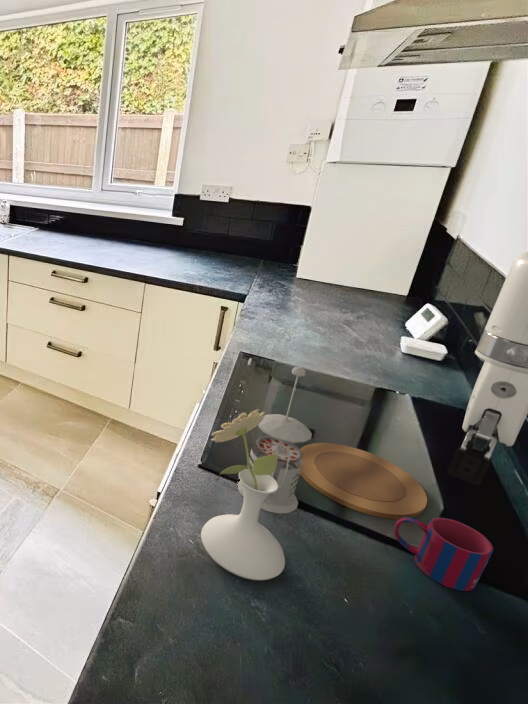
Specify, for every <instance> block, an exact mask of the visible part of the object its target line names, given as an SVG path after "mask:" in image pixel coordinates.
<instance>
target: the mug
mask: <svg viewBox="0 0 528 704" xmlns="http://www.w3.org/2000/svg"><path fill="white" fill-rule="evenodd" d="M404 523H410V524H414V525H415V526H418V527H419V528H420V529H421V530H422V531H423V536H422V538H421V540H420V542H419V545H418V547H415V546H413V545H411V544H409V543H408V542H407V541H405V540H404V539H403V538H402V536H401V535H400V533H399V529H400V526H401V525H402V524H404ZM393 533H394V537H395V538H396V540H397V541H398V543H399V544H400V545H401V546H402V547H404V548H405V549H406V550H408V551H409V552H411V553H412V554H414V562H415V564H416V565H417V567H418V568H419V569H420V571H422V572H423V573H424V574H425V575H426V576H427V577H428V578H430V579H431V580H433V581H435V582H436V583H438V584H440V585H441V586H444V587H446V588H448V589H452V590H454V591H459V592H470V591H473V590H475V588H476V586H477V584H478V582H479V580H480V578H481V576H482V575H483V572H484V571H485V568H486V567H487V564H488V562H489V561H490V558H491V557H492V554H493V552H494V546H493V543H491V541H490V540H489V539H488V538H487V537H486V536H485V535H484V534H482V533H481V532H479V531H478V530H476V529H475V528H473V527H471V526H469V525H467V524H465V523H463V522H460V521H457V520H454V519H451V518H446V517H433V518H432V519H430V521H429V522H428V524H425V523H424V522H422V521H420V520H418V519H416V518H415V517H413V518H410V517H403V518H400V519H397V521H396V522H395V524H394V528H393Z"/></svg>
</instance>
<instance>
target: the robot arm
mask: <svg viewBox="0 0 528 704" xmlns="http://www.w3.org/2000/svg"><path fill="white" fill-rule="evenodd" d="M474 354H475V355H476V356H477V357H478V358H480V359H482V360H484V362H483V364H482V366H481V369H480V371H479V374H478V377H477V378H476V381H475V384H474V386H473V390H472V392H471V394H470V397H469V401H468V404H467V406H466V410H465V415H464V419H463V421H462V422H463V423H462V426H461V427H462V430H463V431H464V432H463V434H462V436H461V439H460V441H459V443H458V447H457V448H456V450H455V453H454V455H453V457H452V460H451V462H450V465H449V466H448V469H447V474H448V475H450V476H452V477H455V478H457V479H459V480H462V481H465V482H467V483H469V484H472V485H475V486H479V485H481V483H482V481H483V479H484V477H485V475H486V473H487V471H488V469H489V467H490V465H491V463H492V461H493V459H492V458H491V457H492V454H493V452H494V450H495V447H496V445H497V444H498V441H499V443H501V444H504V446H505V447H512V446H514V444H515V442H516V440H517V437H518V435H519V434H520V431H521V429H522V426H523V425H524V422H525V420H526V418H527V416H528V251H526V252H523V253H520V254H519V255H518V256H517V257H516V258H515V259H514V260H513V261H512V264H511V265H510V267H509V270H508V273H507V275H506V277H505V280H504V282H503V284H502V287H501V289H500V291H499V294H498V296H497V299H496V301H495V304H494V306H493V308H492V311H491V313H490V315H489V318H488V320H487V322H486V324H485V327H484V330H483V332H482V334H481V336H480V338H479V341H478V343H477V346H476V349H475V351H474Z"/></svg>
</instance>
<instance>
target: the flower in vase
mask: <svg viewBox="0 0 528 704" xmlns="http://www.w3.org/2000/svg"><path fill="white" fill-rule="evenodd" d="M259 411H260V409H259V408H257V409H255V410H253V411H251V412H250V413H249V414H247V412H245V411H244V412H242V413H240V414H239V415H238V417H236V418H234V419H232V422H224V423H222V424H221V425H220V427H221V429H220V430H216V431H214V432H212V433H211V434H210V436H212V438H211V439H210V440H211V441H212V442H215V443H224V442H229V441H232V440H233V439H236V438H238V437H240V436H241V437H242V439H243V443H244V448H245V455H246V465H243V464H236V465H232V466H229V467H226V468H225V469H223V470H222V471H220V472H219V475H218V476H220V475H224V474H226V475H236V474H238V480H239V479H240V481H241V483H242V485H243V488H244V497H243V501H242V507H241V509H240V513H239V514H230V513H229V514H222V515H221V514H220V515H217V516H213V517H211V518H210V519H208V520H207V522H205V524H203V527H202V529H201V530H200V531H201V532H200V538H201V542H202V545H203V547H204V549H205V551H206V552H207V554H208V555H209V557H210V558H211V559H212V560H213V561H214V562H215V563H216V564H217V565H218V566H220V567H221V568H223V570H225V571H227V572H228V573H230V574H233V575H235V576H237V577H240V578H242V579H245V580H246V579H247V580H251V581H267V580H271V579H273V578H276V577H278V576H280V574H281V573H283V571H284V569H285V566H286V558H285V554H284V550H283V548H282V545H281V544H280V542H279V541H278V540H277V538H276V537H275V535H273V534H272V532H270V531H269V530H268V529H267V528H266V527H265V526H263V525H262V524H261V523H259V516H260V512H261V510H262V509H261V506H262V504H263V502H264V500H265V498H266V497H267V496H268V495H269V494H271V493H274V492H275V491H276V490H277V489H278V483H277V482H276V480H275V479H274V478H273V477H271V476H270V475H269V474H271V473H273V471H274V469H275V465H276V454H272V455H268V456H263V457H260V458H257V459H255V460H254V461H253V462H254V463H253V469H251V467H252V466H251V465H250V461H249V457H250V453H249V446H248V441H247V437H246V436H247V435H246V434H247V433H248V432H250V431H252V430H253V429H254V428H256V427H257V426H258V425H259V424H260V422H261V421H262V420H263V418H264V417H265V415H266V412H265V411H262V412H259ZM247 465H248V467H247ZM247 468H249V469H247Z"/></svg>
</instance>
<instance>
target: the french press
mask: <svg viewBox="0 0 528 704" xmlns="http://www.w3.org/2000/svg"><path fill="white" fill-rule="evenodd" d="M291 374H292V375H294V376H296V377H295V381H294V385H293V388H292V393H291V397H290V402H289V404H288V408H287V412H286V415H285V414H280V413H274V414H273V413H272V414H270V413H269V414H264V415H265V417H264V418H263V420H262V421H261V422H260V424H259V425H257V426H258V429H259V430H261V432H263V433H264V434H265V435H262V436H259V437H257V438H256V440H255V442H254V444H253V445H252V446H251V448H250V453H249V461H250V466H251V469H253V463H254V460H255V459H257V458H260V457H263V456H268V455H272V454H276V465H275V469H274V471H273V473H271V474H269V475H270V476H271V477H273V478H274V479H275V480H276V482H277V483H278V489H277V490H276V491H275V492H274V493H271V494H269V495H268V496H267V497H266V498H265V500H264V502H263V504H262V506H261V509H260V510H263V511H266V512H269V513H274V514H289V513H292V512H294V511H295V510H297V508H298V506H299V501H298V498H297V496H296V494H295V491H296V488H297V484H298V481H299V478H300V476H301V474H300V471H301V468H302V464H303V461H302V459H301V458H302V455H303V454H302V452H301V450H300V449H301V448H300V447H299V446H298V445H296V444H302V443H305V442H308V441H309V440H311V439H312V437H313V436H312V435H313V434H312V431H311V430H310V429H309V428H308V427H307V426H306V425H305V424H304V423H302V422H300V421H299V420H298V419H296V418H295V417H290V416H289V414H290V410H291V406H292V404H293V403H292V402H293V398H294V395H295V391H296V388H297V383H298V380H299V377H305V376H306V370H305V368H303V367H301V366H295V367H293V368H292V369H291ZM257 453H260V454H257ZM256 454H257V455H256ZM289 463H292V464H294V465H295V466H296V465H297V466H299V467H300V468H297V467H294V466H293V465H291V464H289ZM246 466H247V468H246V469H249V468H248V465H247V464H246ZM237 483H238V484H237ZM237 483H236V486H237V485H238V488H237V490H239V491H238V493H239V494H240V495H241V496H242V497H243V498H244V488H243V485H242V483H241V481H239V482H238V481H237Z"/></svg>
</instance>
